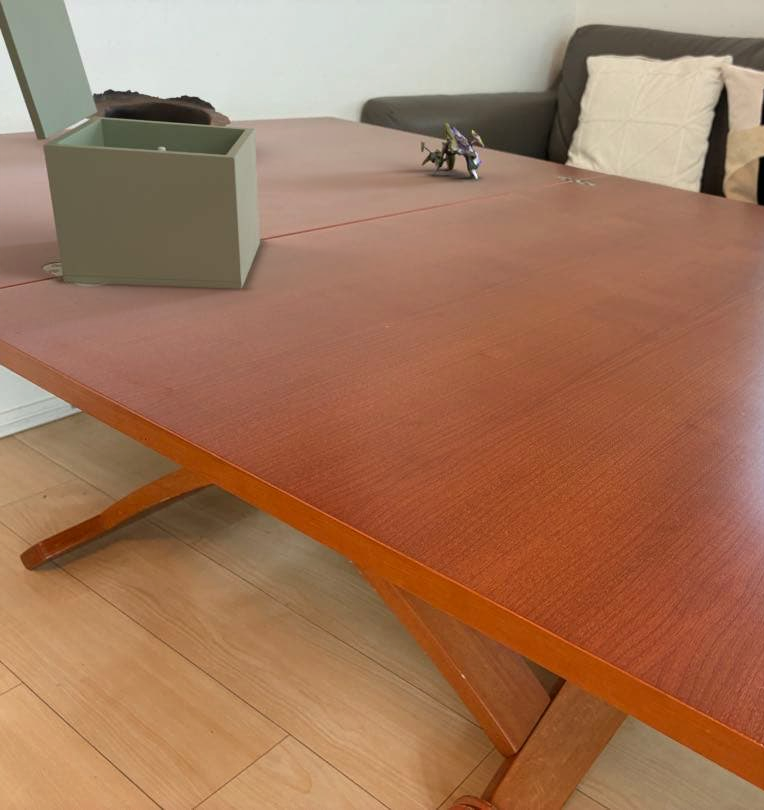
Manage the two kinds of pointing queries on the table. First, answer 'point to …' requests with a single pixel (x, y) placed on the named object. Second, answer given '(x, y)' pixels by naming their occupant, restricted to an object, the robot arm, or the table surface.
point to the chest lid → (46, 64)
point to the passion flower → (455, 151)
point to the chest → (155, 203)
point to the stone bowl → (156, 108)
